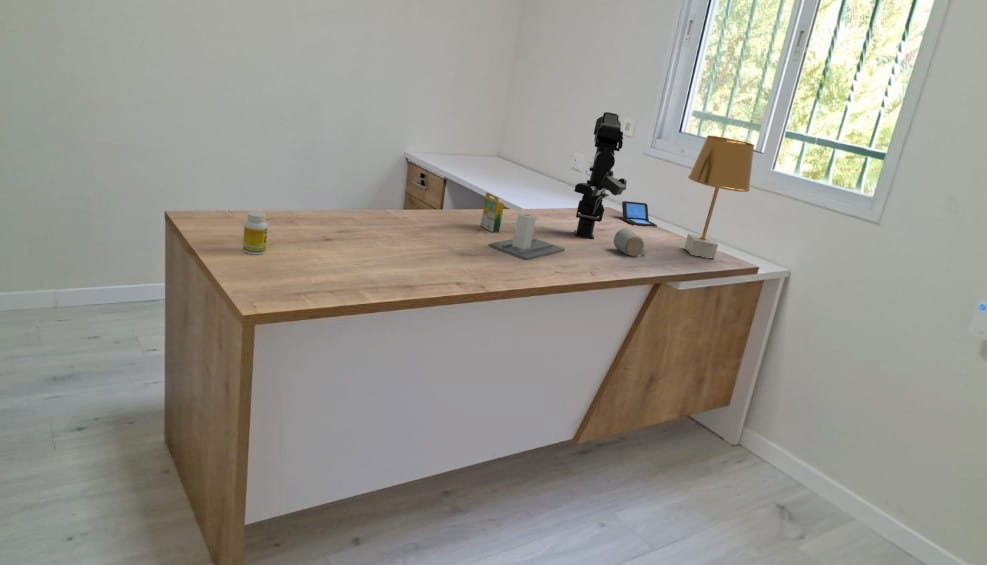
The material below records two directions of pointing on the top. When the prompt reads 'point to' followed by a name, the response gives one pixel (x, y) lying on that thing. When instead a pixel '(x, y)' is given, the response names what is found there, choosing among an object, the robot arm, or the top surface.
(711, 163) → the lamp
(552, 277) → the top surface
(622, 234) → the ceramic mug
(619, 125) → the robot arm
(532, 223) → the fader knob
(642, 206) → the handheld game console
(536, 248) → the fader console
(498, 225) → the crayon box
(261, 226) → the supplement bottle
